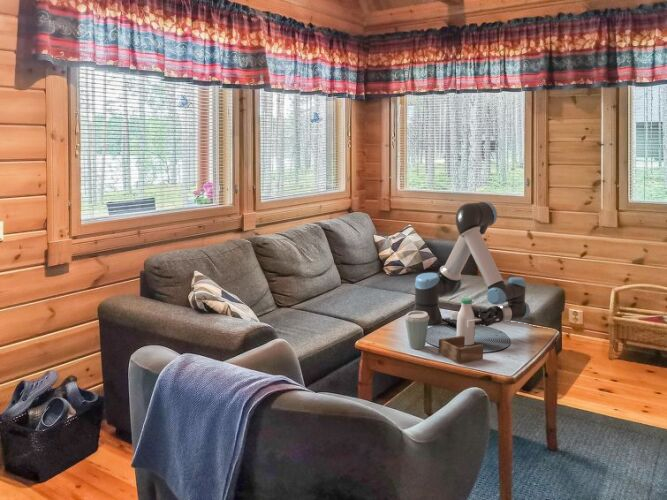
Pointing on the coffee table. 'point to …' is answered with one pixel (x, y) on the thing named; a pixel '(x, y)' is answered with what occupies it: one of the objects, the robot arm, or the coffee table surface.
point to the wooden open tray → (460, 350)
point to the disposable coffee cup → (417, 328)
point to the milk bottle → (462, 320)
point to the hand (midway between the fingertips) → (458, 320)
